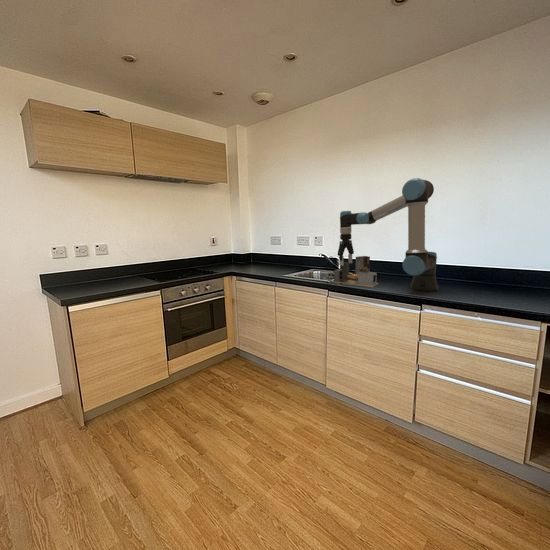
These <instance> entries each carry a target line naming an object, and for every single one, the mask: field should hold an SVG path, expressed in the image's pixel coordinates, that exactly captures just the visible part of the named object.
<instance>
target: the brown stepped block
mask: <svg viewBox="0 0 550 550" xmlns="http://www.w3.org/2000/svg"><path fill="white" fill-rule="evenodd" d="M341 269H342V273H340V277H341V278H342V281H348V280H350V279H351V280H353V279H354V280H358V274H355V273H350V263H349V262H346V261H344V265H341Z"/></svg>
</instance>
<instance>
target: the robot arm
mask: <svg viewBox="0 0 550 550" xmlns="http://www.w3.org/2000/svg"><path fill="white" fill-rule="evenodd" d="M434 190H435V187H434V185H433V183H432V182H431V181H429V180H427V179H423V178H411V179H409V180H407V181H406V182H405V183H404V184H403V186H402V190H401V194H402V195H401V196H399V197H397V198H395V199H393V200H391V201H388V202H387V203H385V204H383V205H381V206H378V207H377V208H374V209H373V210H370V211H369V212H354V213H352V211H351V210H341V211H340V214H339V224H340V225H339V232H340V235H339V238H340V240H339V246H338V250H337V256H338V257H339V262H338V263H339V266H342V265H344V262H345V261H344V253H345V250H347V252H348V259H347V261H348V262H349V264H353V255H354V253H355V251H354V247H353V242H352V241H353V240H352V226H354V225H355V226H356V225H373V224H375V223H376V222H377V221H379V220H381V219H384V218H386V217H387V216H390V215H391V214H394V213H396V212H399V211H400V210H403V209H405V208H407V209H408V210H407V217H408V218H407V219H408V220H407V224H408V225H407V228H408V230H407V231H408V232H407V238H408V239H407V241H408V243H407V244H408V245H407V246H408V247H407V248H408V249H406V251H405V254H404V255H405V258H404V260H402V264H401V265H402V269H403V271H404V272H405V273H406V274H408V275H409V276H413V278H412V281H411V283H410V289H412V290H415V291H423V292H424V291H425V292H434V291H435V292H436V291H438V290H439V285H438V280H437V278H436V277H437V276H436V274H437V260H438V256H437V252H434V251H428V250H427V249H426V205H428V203H429V199H430V198H431V197H432V196H433V194H434V192H435V191H434Z"/></svg>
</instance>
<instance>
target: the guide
mask: <svg viewBox="0 0 550 550" xmlns="http://www.w3.org/2000/svg"><path fill="white" fill-rule="evenodd" d="M377 275H378V274H377V272H372V271H370V272H359V273H358V279H357V280H353V279H351V280H350V279H349V280H348V281H340V282H337V281H334V280H332V281H331V283H332V282H335V283H334V284H340V283H342V284H341V285H350V286H351V285H352V286H360V287H367V288H374V286H375V287H377V286H379V284H380V283H378V282H377Z"/></svg>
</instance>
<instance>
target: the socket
mask: <svg viewBox="0 0 550 550" xmlns="http://www.w3.org/2000/svg"><path fill="white" fill-rule="evenodd" d="M340 273H342V268H338V269H335V270H334V271H333V281H337V282H340V281H342V278H341V277H340Z"/></svg>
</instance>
